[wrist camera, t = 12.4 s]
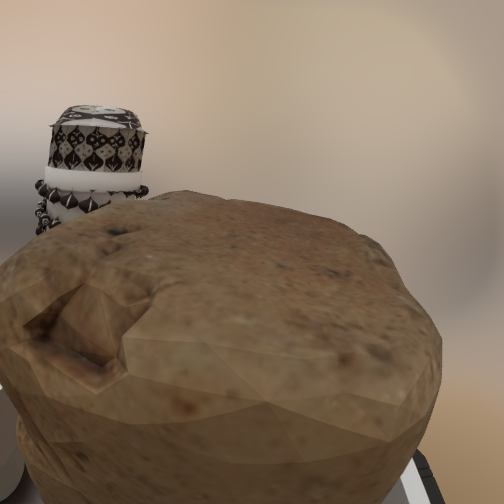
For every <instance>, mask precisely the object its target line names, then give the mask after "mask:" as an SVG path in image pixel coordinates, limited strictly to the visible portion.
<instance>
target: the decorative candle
mask: <svg viewBox="0 0 504 504" xmlns="http://www.w3.org/2000/svg"><path fill="white" fill-rule="evenodd" d="M50 127H53V130H52V140H51V144H50V156H49V162H48V165H47V166H46V169H45V180H39V181H37V182H36V184H35V188H36V189H37V190H38V193H39V194H40V195H41V196H43V197H44V200H42V201H40V202H39V203H38V208H37V209H36V211H35V215H36V216H37V217H38V218H39V223H38V227H37V229H36V234H37V236H38V235H40V234H42V233H43V232H44V230H45V231H47V230H49V229H51V228H53V227H55V226H57V225H59V224H61V223H63V222H65V221H68V220H71V219H73V218H76V217H79V216H82V215H84V214H87V213H89V212H92V211H94V210H97V209H99V208H101V207H104V206H106V205H108V204H110V203H113V202H115V201H127V200H135V196H136V198H138V197H140V198H141V197H143V196H145V195H147V194H148V192H149V189H148V188H147V187H146V186H143V185H140V184H141V177H142V171H140V168H141V161H142V155H143V148H144V142H145V136H146V134H148V133H146V132H145V131H143V129H142V127H141V124H140V122H139V119H138V117H137V115H136V114H135V113H133V112H131V111H129V110H124V109H120V108H114V107H104V106H89V105H83V106H73V107H70V108H68V109H67V110H66V111H65V112H64V113H63V114H62V115H61V117H60V118H59V120H58V121H57V122H56V123H55V124H53V125H51V126H50ZM43 183H44V184H43ZM45 197H46V199H45Z"/></svg>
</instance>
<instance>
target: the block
mask: <svg viewBox="0 0 504 504" xmlns="http://www.w3.org/2000/svg"><path fill="white" fill-rule="evenodd" d="M441 378H442V338H441V336H440V334H439V332H438V331H437V329H436V327H435V325H434V323H433V321H432V319H431V318H430V317H429V315H428V314H427V313H426V311H425V310H424V309H423V307H422V306H421V305H420V304H419V303H418V301H417V300H416V299H415V298H414V297H413V296H412V295H411V294H410V292H409V291H408V290H407V288H406V287H405V286H404V284H403V281H402V279H401V277H400V275H399V273H398V271H397V269H396V267H395V265H394V263H393V261H392V259H391V258H390V256H389V255H388V254H387V253H386V251H385V250H384V249H383V248H382V246H381V245H380V244H379V243H377V242H375V241H374V240H372V239H371V238H369V237H368V236H366V235H361V234H358V233H357V232H355V231H354V230H352V229H351V228H349V227H348V226H346V225H345V224H342V223H340V222H337V221H335V220H332V219H329V218H325V217H320V216H315V215H310V214H307V213H303V212H300V211H296V210H293V209H289V208H284V207H279V206H274V205H269V204H264V203H258V202H251V201H244V200H236V199H231V200H225V199H223V198H220V197H218V196H212V195H206V194H201V193H197V192H193V191H188V190H184V191H174V192H168V193H164V194H161V195H159V196H156V197H153V198H151V199H148V200H127V201H115V202H113V203H110V204H108V205H106V206H104V207H101V208H99V209H97V210H94V211H92V212H89V213H87V214H84V215H82V216H79V217H76V218H73V219H71V220H68V221H65V222H63V223H61V224H59V225H57V226H55V227H53V228H51V229H49V230H47V231H45V232H43V233H42V234H40V235H38V236H37V237H35V238H34V239H33V240H31V241H30V242H29V243H27V244H26V245H25V246H24V247H22V248H21V249H20V250H19V251H18V252H16V253H15V254H14V255H13V256H11V257H10V258H9V259H8V260H7V261H5V262H4V263H3V264H2V265H1V266H0V384H1V386H2V388H3V389H4V391H5V392H6V394H7V396H8V397H9V399H10V400H11V402H12V403H13V405H14V407H15V408H16V410H17V411H18V413H19V416H18V421H17V426H16V437H17V448H18V450H19V452H20V454H21V456H22V458H23V460H24V462H25V465H26V467H27V470H28V473H29V475H30V478H31V479H32V481H33V483H34V485H35V487H36V488H37V490H38V492H39V494H40V496H41V498H42V499H43V502H44V503H45V504H381V503H382V502H383V501H384V499H385V498H386V497H387V495H388V494H389V492H390V491H391V489H392V488H393V487H394V485H395V484H396V482H397V481H398V479H399V478H400V477H401V475H402V474H403V472H404V471H405V469H406V467H407V466H408V464H409V462H410V460H411V458H412V457H413V455H414V453H415V451H416V449H417V447H418V445H419V443H420V441H421V439H422V437H423V435H424V433H425V431H426V428H427V425H428V423H429V420H430V417H431V414H432V411H433V408H434V404H435V401H436V398H437V395H438V391H439V388H440V385H441Z"/></svg>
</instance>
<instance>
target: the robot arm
mask: <svg viewBox="0 0 504 504" xmlns="http://www.w3.org/2000/svg"><path fill="white" fill-rule="evenodd" d="M18 416H19V413H18V411H17V410H16V408H15V407H14V405H13V403H12V402H11V400H10V399H9V397H8V396H7V394H6V392H5V391H4V389H3V388H2V386H1V384H0V466H2V467H3V465H4V464H5V462H6V461H7V459H8V458H9V457H10V455H11V454H12V452H13V451H14V449H15V448H16V446H17V437H16V426H17V421H18ZM429 468H430V467H429V464H428V462H427V460H426V458H425V456H424V455H423V454H422V453H421V452H420V451H419V450H418V449H416V451H415V453H414V455H413V457H412V458H411V460H410V462H409V464H408V466H407V467H406V469H405V471H404V472H403V474H402V475H401V477H400V478H399V479H398V481H397V482H396V484H395V485H394V487H393V488H392V489H391V491H390V492H389V494H388V495H387V497H386V498H385V499H384V501H383V502H382V503H381V504H445V502H444V499H443V497H442V495H441V492H440V490H439V487H438V485H437V483H436V480H435V478H434V477H433V473H432V471H431V469H429Z"/></svg>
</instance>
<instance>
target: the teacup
mask: <svg viewBox="0 0 504 504" xmlns="http://www.w3.org/2000/svg"><path fill="white" fill-rule="evenodd" d="M23 470H24V460H23V458H22V456H21V454H20V452H19V450H18V448H17V446H16V448H15V449H14V451H13V452H12V454H11V455H10V457H9V458H8V459H7V461H6V462H5V464H4V465H3V467H2V466H0V501H2V500H4V499H5V498H7V497H8V496H9V495H10V494H11V493H12V492H13V491H14V490H15V489H16V487H17V486H18V484H19V482H20V480H21V477H22V474H23Z"/></svg>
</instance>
